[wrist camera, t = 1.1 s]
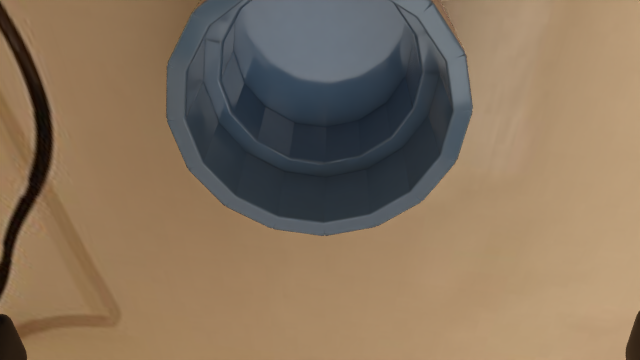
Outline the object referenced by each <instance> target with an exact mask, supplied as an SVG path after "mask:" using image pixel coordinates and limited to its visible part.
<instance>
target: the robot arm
mask: <svg viewBox="0 0 640 360" xmlns="http://www.w3.org/2000/svg"><path fill="white" fill-rule="evenodd" d="M0 360H27V354H26V350H25V348H24V345H23V343H22V341H21V339H20V337H19V335H18V333H17V330H16V328H15V326H14V324H13V322H12V320H11V318H9V317H8V316H7V315H4V314H0ZM626 360H640V311H639V312H638V314H637V316H636V319H635V322H634V325H633V328H632V331H631V334H630V337H629V340H628V343H627V347H626Z"/></svg>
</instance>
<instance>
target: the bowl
mask: <svg viewBox="0 0 640 360" xmlns="http://www.w3.org/2000/svg"><path fill="white" fill-rule="evenodd" d="M472 109H473V104H472V96H471V88H470V81H469V73H468V65H467V57H466V54H465V51H464V48H463V46H462V44H461V42H460V40H459V38H458V36H457V34H456V32H455V30H454V27H453V25H452V23H451V21H450V19H449V17H448V15H447V13H446V11H445V9H444V6H443V4H442V2H441V0H200V1H199V3H198V4H197V6H196V7H195V9H194V10H193V12H192V13H191V15H190V17H189V19H188V21H187V24H186V26H185V28H184V30H183V32H182V34H181V36H180V38H179V40H178V42H177V44H176V46H175V48H174V50H173V52H172V54H171V57H170V59H169V61H168V65H167V95H166V118H167V122H168V124H169V127H170V129H171V131H172V134H173V136H174V138H175V141H176V143H177V145H178V147H179V150H180V152H181V154H182V157H183V159H184V161H185V164H186V166H187V168H188V169H189V171H190V172H191V173H192V174H193V175H194V176H195V177H196V178H197V179H198V180H199V181H200V182H201V183H202V184H203V185H204V186H205V187H206V188H207V189H208V190H209V191H210V192H211V193H212V194H213V195H214V196H215V197H216V198H217V199H218V200H219V201H220V202H221V203H222V204H223V205H226V207H228V208H230V209H232V210H234V211H236V212H238V213H240V214H242V215H244V216H246V217H248V218H250V219H253V220H255V221H257V222H259V223H261V224H263V225H265V226H267V227H269V228H273V229H275V230H283V231H290V232H298V233H305V234H313V235H320V236H324V235H325V236H328V235H334V234H339V233H345V232H350V231H356V230H361V229H367V228H372V227H376V226H379V225H381V224H382V223H384V222H386V221H388V220H390V219H391V218H393V217H395V216H397V215H399V214H401V213H402V212H404V211H406V210H408V209H410V208H411V207H413V206H415V205H417V204H419V203H420V202H421V201H423V200H424V199H425V198H426V197H427V195H428V194H429V193H430V192H431V191H432V190H433V188H434V187H435V186H436V185H437V184H438V183H439V181H440V180H441V179H442V178H443V177H444V176H445V174H446V173H447V172H448V171H449V170H450V169H451V167H452V166H453V165H454V164H455V162H456V160H457V159H458V156H459V153H460V149H461V146H462V143H463V140H464V137H465V134H466V131H467V127H468V124H469V121H470V118H471V115H472Z"/></svg>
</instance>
